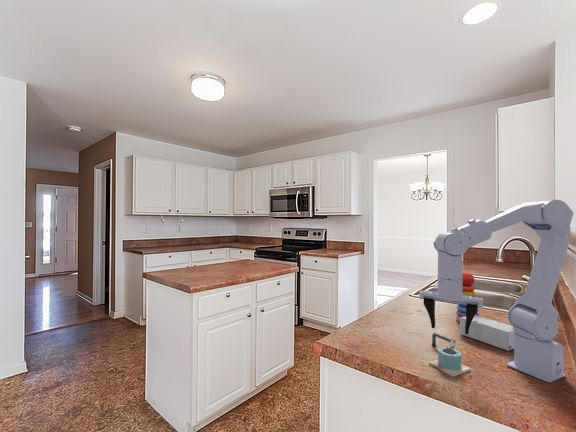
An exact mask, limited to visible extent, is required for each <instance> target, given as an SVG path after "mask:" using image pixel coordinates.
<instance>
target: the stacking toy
mask: <svg viewBox="0 0 576 432" xmlns="http://www.w3.org/2000/svg"><path fill="white" fill-rule="evenodd" d="M474 283H475V277H474V275H473V274H472V273H470V272H462V295H466V296H472V297H476V292H475V286H474V285H473V284H474ZM478 312H479V309H478V310H477V313H476V314H475V315H476V316H479V317H480V313H478ZM461 317H466V305H465V304H458V303H457V305H456V316H455V320H456V321H457V322H459V323H460V318H461Z"/></svg>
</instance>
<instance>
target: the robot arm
mask: <svg viewBox="0 0 576 432" xmlns="http://www.w3.org/2000/svg"><path fill="white" fill-rule="evenodd" d="M573 216H574V211H573V210H572V208H570V206H569V204H567V203H566V202H565V201H564V200H561V199H551V200H544V201H543V200H542V201H526V202H523V203H521V204H520V203H519V204H517V205H515V206H513V207H511V208H509V209H507V210H505V211H503V212H501V213H499V214H497V215H495V216H493V217H491V218H489V219H487V220H485V221H484V220H482V219H475V218H472V219H470V220H468V221H467V223H466V224H464V225H462V226H459V227H453V228H451V231H450V232H441V233H439V234H438V235H437V237H436V238H435V240H434V242H433V247H434V249H435V250H436V251H437V291H430V290H420V291H419V294H418V296H419V297H418V298H419V300H423V301H422V302H423V305H424V307H425V309H426V312H427V314H428V317H429V320H430V321H429V322H430V324H431V328H432V329H435V328H436V302H437V301H438V302H445V303H451V304H457V305H458V304H465V305H466V325H465V334H468V332H469V327H470V324H471V322H472V320H473V318H474V316H475V314H476V313H478V312H477V310H478V311H479V308H483V307H484V298H482V297H477V296H474V297H472V296H466V295H462V273H463V255H465V253H466V252H467V250H468V249H470V248H471V247H474V246H476V245H478V244H481V243H483V242H486V241H488V240H490V239H491V238H492V235H493V233H495V232H497V231H500V230H502V229H505V228H508V227H510V226H513V225H515V224H518V223H521V222H522V224H523V225H525V226H527V227H528V228H530V229H531V230H532V231H534V233H536V234H537V235H538V236H539V238H540V242H539V245H538V249H537V252H536V256H535V259H534V261H533V266H532V268H531V272H530V275H529V279H528V282H527V285H526V289H525V292H524V294H523V295H521V296H519V297H517V298H516V299H515V300H514V303H513V305H512V306H511V307H510V308H509V310H508V312H507V321H508V322H509V324H511V326H513V330H514V349H513V361H510V362H508V363H506V366H507V367H509V368H512V369H514V370H517V371H519V372H522V373H525V374H527V375H530V376H531V377H534V378H536V379H539V380H542V381H545V382H547V383H552V382H555V381H558V380H559V379H561V378H564V377H566V373H565V371H564V370H565V350H564V346H563V345H562V344H561V343H559V342H557V341H555V340H553V339H554V338H556V336H557V335H558V333H559V322H558V319H559V316H560V313H559V312H558V310H557V309H556V307H555V306H554V305H553V303H552V302H553V299H554V295H555V292H556V288H557V286H558V282H559V279H560V275H561V271H562V269H563V266H564V261H565V258H566V255H567V252H568V248H569V245H570V243H571V238H572V233H571V232H572V231H571V223H572V219H573Z"/></svg>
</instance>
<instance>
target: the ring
mask: <svg viewBox="0 0 576 432" xmlns="http://www.w3.org/2000/svg"><path fill="white" fill-rule="evenodd" d="M446 347H447V346H444V347H443V346H442V347H438V350H437V351H438V352H437V359H438V364H439V365H440V366H442V367H443V368H446V369H450V370H461V364H462V352H461V351H459V350H457V349H455V348H454V349H452V354H447V353H446Z"/></svg>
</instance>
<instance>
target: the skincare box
mask: <svg viewBox="0 0 576 432" xmlns="http://www.w3.org/2000/svg"><path fill="white" fill-rule="evenodd" d="M459 323H460V324H459V335H462V336H464V337H469V338H471V339H474V340H477V341H480V342H481V343H485V344H488V345H490V346H494V347H497V348H499V349H502V350H505V351H507V352H508V351H511V350H514V330H513V325H510V324H506V323H504V322H500V321H497V320H494V319H490V318H486V317H482V316H480V315H479V316H476V315H475V316H474V318H473V320H472V322H471V324H470V327H469V332H468V334H465V325H466V317H461V318H460V322H459Z"/></svg>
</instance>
